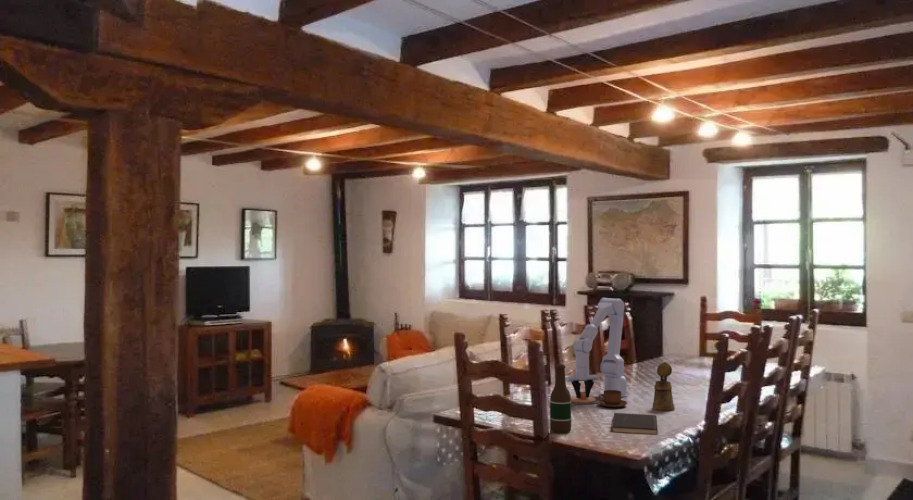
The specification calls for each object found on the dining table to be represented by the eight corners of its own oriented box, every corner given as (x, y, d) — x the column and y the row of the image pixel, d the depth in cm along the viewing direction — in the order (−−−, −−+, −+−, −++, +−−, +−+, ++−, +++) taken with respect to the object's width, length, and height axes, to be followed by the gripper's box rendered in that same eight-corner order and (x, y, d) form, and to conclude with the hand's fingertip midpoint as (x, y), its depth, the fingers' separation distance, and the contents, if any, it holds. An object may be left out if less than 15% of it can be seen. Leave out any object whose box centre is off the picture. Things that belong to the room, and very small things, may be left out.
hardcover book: (611, 433, 257) (611, 426, 257) (614, 418, 279) (614, 412, 279) (657, 435, 253) (657, 429, 253) (656, 420, 275) (656, 415, 275)
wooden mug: (676, 405, 301) (676, 362, 301) (673, 411, 289) (673, 367, 289) (654, 403, 304) (654, 361, 304) (651, 410, 292) (650, 366, 292)
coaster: (589, 397, 317) (589, 396, 317) (601, 403, 305) (601, 402, 305) (564, 399, 314) (564, 398, 314) (575, 405, 302) (575, 404, 302)
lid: (588, 397, 316) (588, 389, 316) (599, 402, 306) (599, 393, 306) (565, 398, 313) (565, 390, 313) (576, 403, 303) (576, 395, 303)
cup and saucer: (610, 410, 292) (610, 395, 292) (592, 405, 303) (592, 390, 303) (633, 407, 298) (633, 392, 298) (614, 402, 308) (614, 388, 308)
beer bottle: (547, 428, 262) (547, 363, 262) (568, 428, 262) (568, 363, 263) (552, 434, 254) (552, 366, 254) (573, 433, 255) (573, 366, 255)
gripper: (593, 364, 315) (593, 394, 315) (563, 365, 312) (563, 396, 312) (600, 366, 309) (601, 398, 309) (569, 368, 305) (570, 400, 305)
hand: (582, 397), depth 310 cm, fingers open, 4 cm apart
